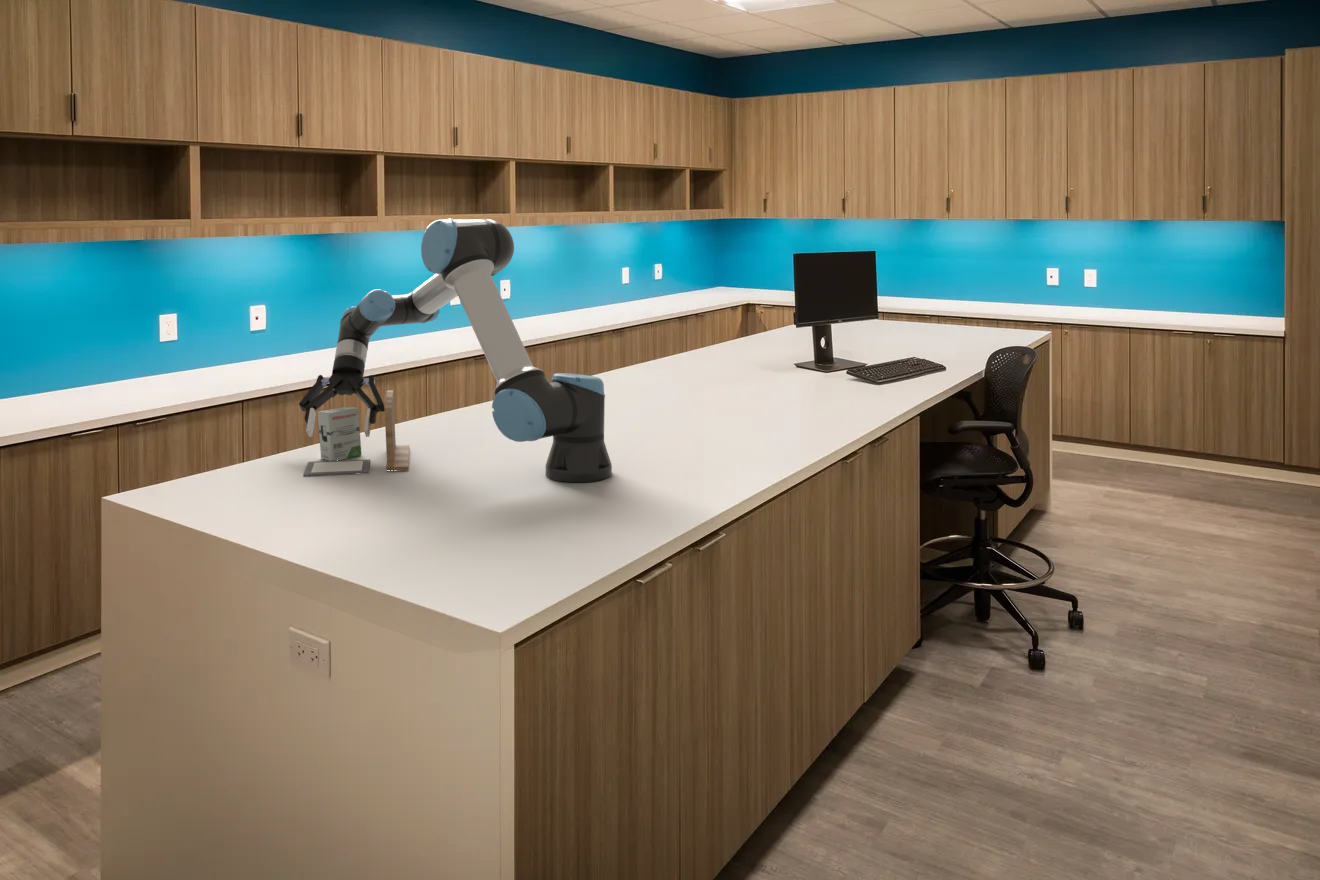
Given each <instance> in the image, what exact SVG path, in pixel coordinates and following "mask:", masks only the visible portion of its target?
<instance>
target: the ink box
mask: <svg viewBox="0 0 1320 880" xmlns="http://www.w3.org/2000/svg"><path fill="white" fill-rule="evenodd" d="M317 421H318V423H317V425H318V434H319V447H320V448H319V449H320V450H319V451H320V459H321V458H322V459H321V460H324V459H325V460H324V461H328V460H329V461H337V460H338V461H339V460H341V459H342V460H347V459H351V458H354V457H355V456H356V457H360V456H362V445H361V444H362V443H361V442H362V441H361V429H360V413H359V409H358V408H357V407H354V406H342V407H336V408H330V409H326V410H318V411H317ZM359 455H360V456H359ZM346 458H347V459H346Z"/></svg>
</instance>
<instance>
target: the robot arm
mask: <svg viewBox="0 0 1320 880" xmlns="http://www.w3.org/2000/svg"><path fill="white" fill-rule="evenodd" d="M420 253H421V254H420V255H421V259H422V262H423V264H424V265H423V266H424V267H425V269H426V270H427V271H428V272H431V273H432V274H433V275H432V276H431V277H430V278H428V279H427V280H425V281H424V282H423V283H422V284H420V285H419V286H418V287H416V288H415V289H413V291H411V292H409V293H407V294H405V293H404V294H391V293H389V292H388V291H385V290H383V289H379V288H377V289H373V290H371V291H369V292H368V293H367V294H366V295H364V296H363V297H362V298H361V299H360V301H359V303H358V304H357V305H356V306H351V307H348V308H346V309H345V310H344V311H343V313H342V317H341V319H340V323H339V325H340V326H339V331H338V336H337V343H336V348H335V354H334V361H333V365H332V369H331V370H332V372H331V375H330V376H329V377H325V376H323V375H322V374H319V375H318V376H317V377H316V381H315V383H314V385H312V387H311V388H310V389H309V390H308V392H306V394H305V395H304V396H303V398H302V399H301V400H300V401H299V403H298V405H299V408H300V410H301V412H304V413H305V414H304V418H303V419H304V422H305V423H306V424H307V425H306V428H305V430H306V433H307V436H308V437H310V438H311V437H313V434H314V430H315V429H314V428H315V423H316V422H315V421H316V417H317V413H316V411H317V410H318V409H319V408H320V407H322V406H323V405H324V404H325V403H326V402H328V401H329V400H330V399H331V398H334V397H335V396H337V395H339V396H346V395H347V396H352V395H354V394H355V395H356V396H357V397H358V398H359V399H360V400H361V401H362V402H363V404H364V405H365V406H366V407H367V408H366V409H367V410H366V414H365V415H366V416H365V421H364V428H363V432H364V435H365V437H366V438H369V437H370V435H371V434H370V433H371V427H372V425H374V424H376V421H377V415H378V413H379V412H384V413H385V409H384V407H385V403H384V401H383V400H382V397H381V395H380V393H379V390H378V389H377V386H376V385H377V384H376V383H377V382H376V379H375V377H374V375H371V374H370V375H369V376H368V377H364V375H365V368H366V361H367V353H368V350H369V349H368V348H369V343H370V339H371V337H372V336H373V334H375V333H376V332H377V331H378V330H379V328H382V327H388V326H396V325H397V326H399V325H410V324H412V325H413V324H426V323H428V322H429V323H430V322H434V321H435V320H436V319H437V318H438V315H440V311H441V308H443V307H444V306H445V305H447V304H449V303H450V302H451V301H453V300H454V299H456V298H457V297H458V299H459V301H460V304H461V305H462V308H463V310H464V312H465V314H466V316H467V318H468V321H469V323H470V325H471V327H472V329H473V332H474V335H475V336H476V339H477V341H478V343H479V345H480V347H481V350H482V352H483V354H484V356H485V358H486V361H487V363H488V365H489V367H490V369H491V372H492V374H493V376H494V378H495V381H496V384H495V387H494V389H493V393H494V398H493V400H492V405H491V408H492V409H493V410H492V413H491V414H492V419H493V420H494V424H495V426H496V427H497V429H498V431H499V432H500V433H501V434H502V435H503V436H504V437H506V438H507V439H509V440H510V441H514V442H518V443H522V442H523V443H524V442H535V441H538V440H540V439H544V438H548V437H552V443H551V444H552V445H551V447H550V450H549V453H548V456H547V459H546V463H545V476H546V477H547V478H549V479H551V480H553V481H558V482H565V483H590V482H597V481H603V480H606V479H608V478H610V477H611V476H612V475H613V472H612V471H613V466H612V462H611V458H610V456H609V452H608V449H607V446H606V442H605V405H606V404H605V399H606V395H605V384H604V381H603V380H602V379H601V378H600V377H599V376H593V375H586V374H578V373H565V372H564V373H563V372H562V373H561V372H557V373H554V374H553V375H552V377H551V382H549V381H548V378H547V377H546V374H545V372H544V370H543V369H541V368H538V367H535V366H534V365H533V363H532V361H531V358H530V356H529V355H528V352H527V350H526V348H525V346H524V342H523V341H522V339H521V336H520V334H519V332H518V330H517V328H516V325H515V324H514V322H513V319H512V318H511V316H510V313H509V311H508V309H507V307H506V304H505V302H504V300H503V298H502V296H501V293H500V291H499V289H498V287H497V284H496V282H495V280H494V278H493V276H495V275H497V274H499V272H501V271H502V270H503V269H505V268H506V267H507V266H508V265H509V264H510V263H511V260H512V259H513V256H514V253H515V244H514V239H513V235H512V234H511V232H510V230H509V229H508V228H507V227H506V226H505V225H503V224H502V223H501V222H499V221H497V220H494V219H490V218H479V219H478V218H471V219H470V218H468V219H467V218H466V219H453V218H452V217H450V218H446V219H437V220H434V221H432V222H430V223H429V225H427V227H426V228H425V230H424V232H423V235H422V237H421V244H420ZM328 384H329V385H328ZM327 385H328V386H327ZM364 385H366V386H367V387H369V388H370V390H371V393H372V395H373V398H374V400H375V402H376V403H374V402H373V400H372V399H371V398H370V397H369V396H368V394H366V393H365V391H364V390H363V389H362V387H363V386H364ZM325 387H326V389H324V388H325ZM323 389H324V390H323Z"/></svg>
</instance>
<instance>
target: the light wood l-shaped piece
mask: <svg viewBox="0 0 1320 880" xmlns="http://www.w3.org/2000/svg"><path fill="white" fill-rule="evenodd" d="M394 399H395V398H394V390H393V389H392V390H391V389H390V390H386V395H385V400H384V401H385V402H384V409H385V411H384V425H385V429H384V430H385V447H386V466H385V470H390V471H391V470H393V471H391V472H395V471H394V470H410V444H400V445H399V444H397V443H396V440H397V439H396V421H395V400H394Z"/></svg>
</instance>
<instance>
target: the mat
mask: <svg viewBox="0 0 1320 880" xmlns="http://www.w3.org/2000/svg"><path fill="white" fill-rule="evenodd" d="M306 464H307V465H306V466H305V470H304V471H303V477H316V476H315V475H323V476H341V475H340V474H347V475H357V474H356V473H368V474H369V471H368V470H370V465H371V459H370V458H369V459H368V458H367V459H366V458H365V459H342V460H338V461H328V460H319V461H308V462H307V463H306ZM369 464H370V465H369Z"/></svg>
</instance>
